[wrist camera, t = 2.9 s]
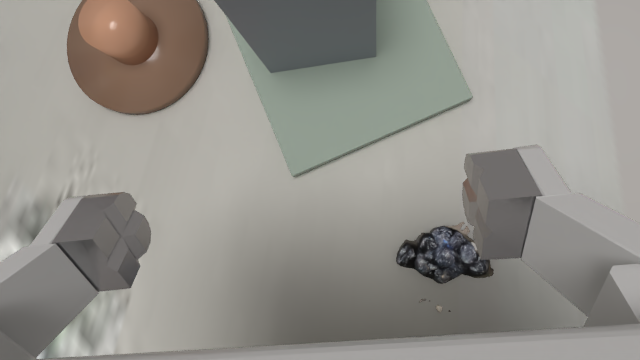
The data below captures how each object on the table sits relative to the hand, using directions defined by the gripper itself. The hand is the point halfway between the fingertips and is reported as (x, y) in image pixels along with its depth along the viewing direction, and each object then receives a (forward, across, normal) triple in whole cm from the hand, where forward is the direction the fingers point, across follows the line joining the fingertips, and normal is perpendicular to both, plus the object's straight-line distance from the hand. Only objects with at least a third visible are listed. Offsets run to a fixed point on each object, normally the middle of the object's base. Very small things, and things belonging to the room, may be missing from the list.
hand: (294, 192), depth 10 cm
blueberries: (+9, -5, +15) cm, 18 cm away
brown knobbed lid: (+20, +13, +3) cm, 24 cm away
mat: (+19, 0, +4) cm, 20 cm away
